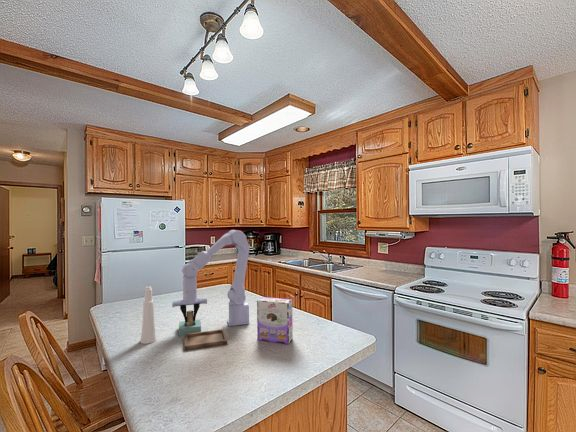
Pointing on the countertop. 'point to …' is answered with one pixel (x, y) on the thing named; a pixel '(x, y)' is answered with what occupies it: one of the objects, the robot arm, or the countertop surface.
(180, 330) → the teal square ring
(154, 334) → the cosmetic bottle
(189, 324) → the pin
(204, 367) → the countertop surface
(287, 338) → the candy box
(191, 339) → the tray
